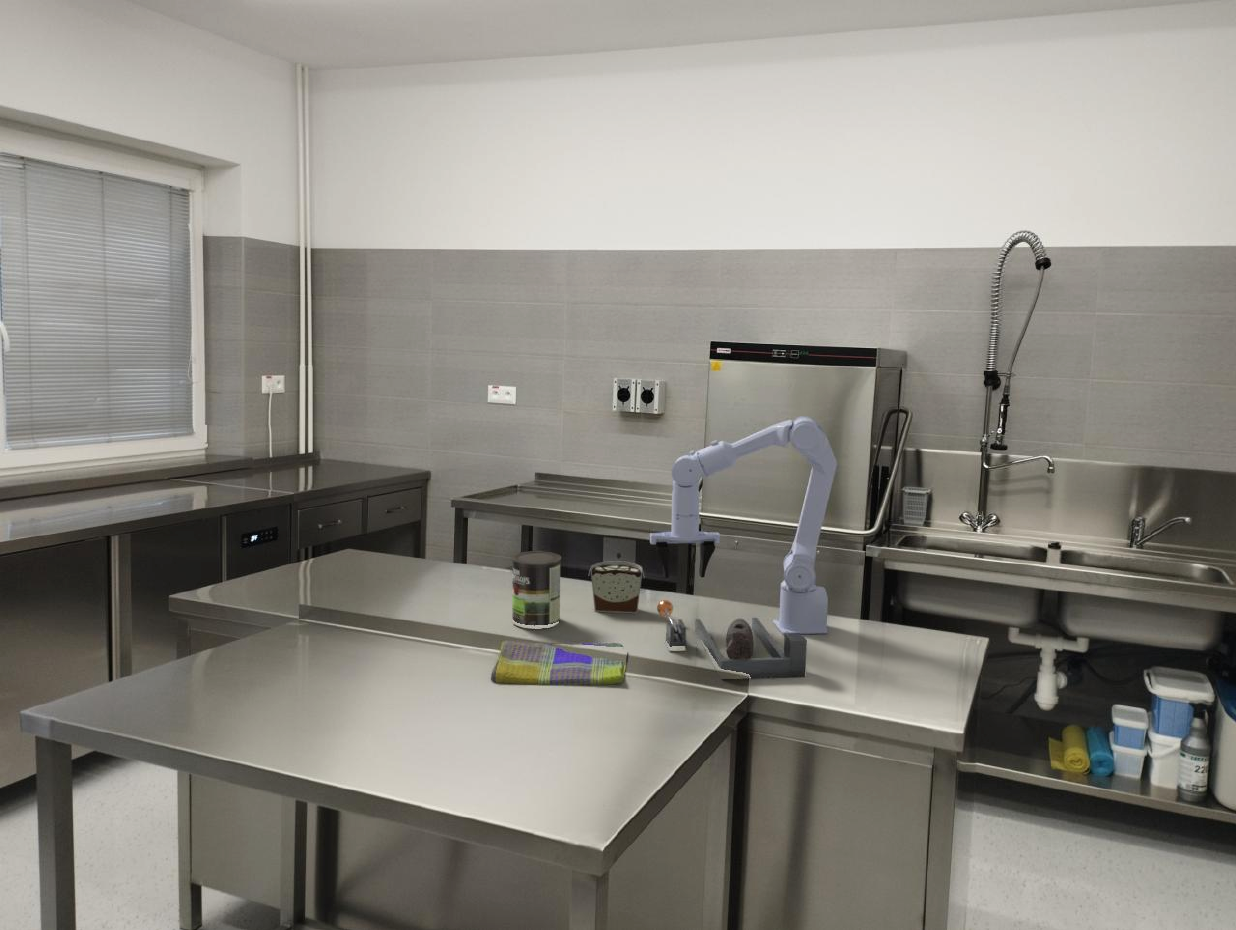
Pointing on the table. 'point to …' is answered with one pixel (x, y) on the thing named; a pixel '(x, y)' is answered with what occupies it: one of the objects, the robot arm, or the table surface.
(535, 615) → the coffee can
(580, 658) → the dish towel
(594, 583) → the food container
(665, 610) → the lever
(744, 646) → the perforated stone tool
